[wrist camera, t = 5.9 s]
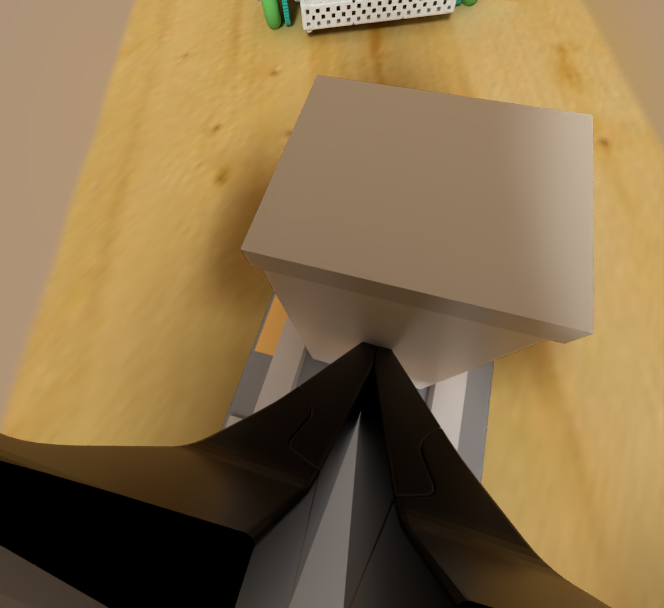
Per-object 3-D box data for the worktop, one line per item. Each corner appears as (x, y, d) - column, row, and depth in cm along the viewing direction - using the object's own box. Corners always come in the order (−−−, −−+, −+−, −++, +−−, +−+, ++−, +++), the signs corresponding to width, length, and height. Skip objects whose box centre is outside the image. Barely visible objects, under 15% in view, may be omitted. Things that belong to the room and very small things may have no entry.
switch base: (441, 695, 11) (472, 788, 8) (175, 585, 13) (127, 632, 10) (488, 303, 16) (517, 280, 14) (295, 258, 18) (286, 228, 15)
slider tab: (422, 392, 13) (594, 333, 4) (310, 360, 14) (239, 249, 5) (438, 305, 15) (592, 115, 5) (334, 280, 15) (317, 75, 6)
